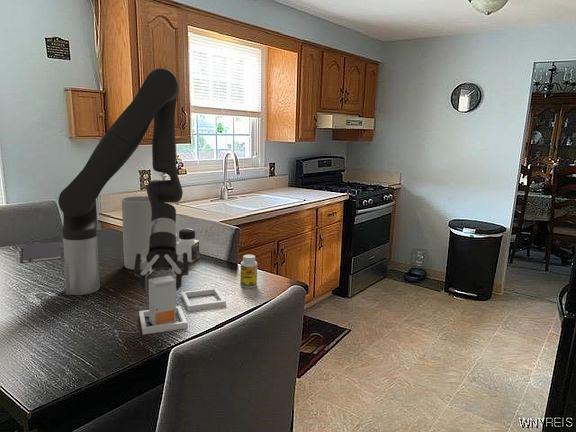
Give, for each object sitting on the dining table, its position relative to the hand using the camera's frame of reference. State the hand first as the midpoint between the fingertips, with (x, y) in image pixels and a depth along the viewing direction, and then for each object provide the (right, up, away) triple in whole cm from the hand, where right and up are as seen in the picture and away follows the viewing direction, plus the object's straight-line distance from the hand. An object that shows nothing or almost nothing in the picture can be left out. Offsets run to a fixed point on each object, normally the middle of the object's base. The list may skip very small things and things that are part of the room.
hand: (161, 289), depth 111 cm
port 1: (+1, -9, -1) cm, 9 cm away
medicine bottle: (-6, +2, +52) cm, 53 cm away
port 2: (+9, -6, +13) cm, 17 cm away
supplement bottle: (+21, -4, +27) cm, 35 cm away
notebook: (-63, +4, +53) cm, 82 cm away
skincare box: (+1, -9, -1) cm, 9 cm away
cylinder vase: (-20, +1, +43) cm, 47 cm away
